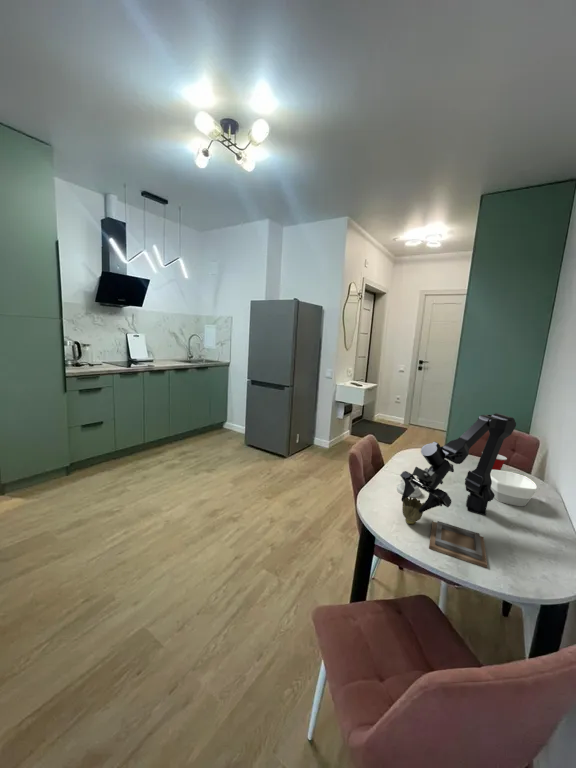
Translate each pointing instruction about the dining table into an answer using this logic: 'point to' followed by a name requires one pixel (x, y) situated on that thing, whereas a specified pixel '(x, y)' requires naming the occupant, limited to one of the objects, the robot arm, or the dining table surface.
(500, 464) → the plastic cup
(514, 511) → the dining table surface
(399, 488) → the mechanical component
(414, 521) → the cup
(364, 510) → the dining table surface
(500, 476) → the bowl
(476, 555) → the holder board
